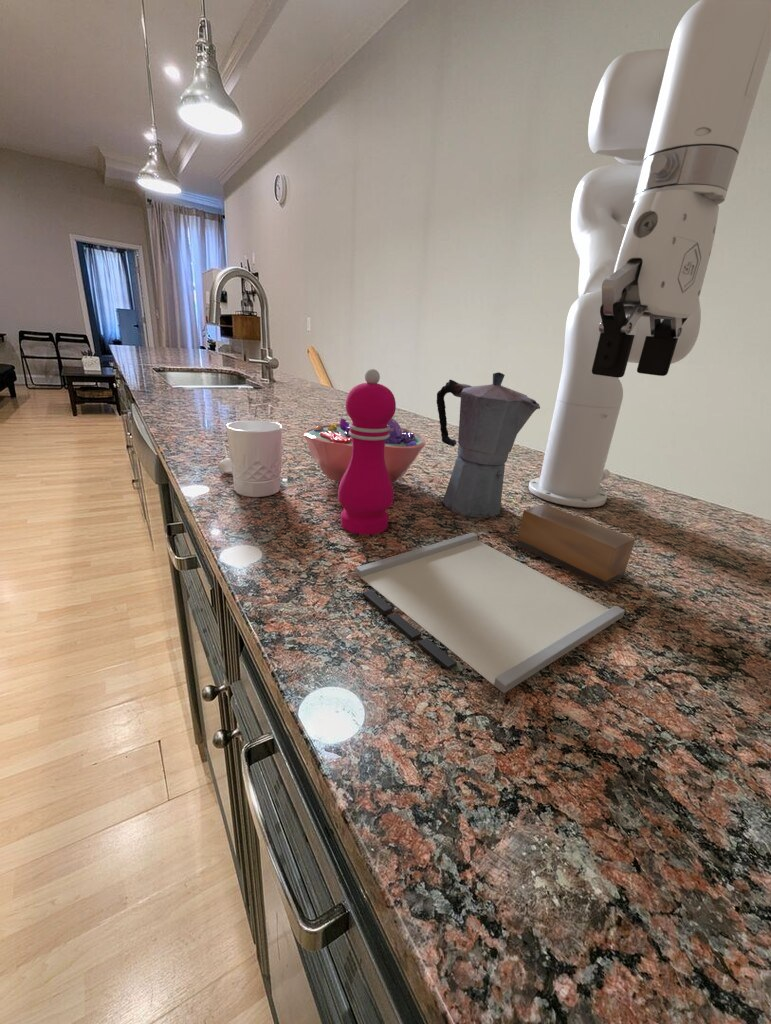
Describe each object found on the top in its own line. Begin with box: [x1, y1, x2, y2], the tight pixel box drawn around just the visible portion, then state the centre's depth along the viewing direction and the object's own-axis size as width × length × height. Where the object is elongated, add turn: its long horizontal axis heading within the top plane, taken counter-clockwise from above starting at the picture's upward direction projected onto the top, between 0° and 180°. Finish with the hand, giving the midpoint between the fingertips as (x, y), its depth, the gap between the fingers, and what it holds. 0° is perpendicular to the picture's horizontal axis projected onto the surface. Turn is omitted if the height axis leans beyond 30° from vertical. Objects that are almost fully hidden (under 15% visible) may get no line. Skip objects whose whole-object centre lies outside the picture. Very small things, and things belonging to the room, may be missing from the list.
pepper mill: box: [337, 368, 397, 535], centre depth 55 cm, size 7×7×20 cm
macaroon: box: [217, 457, 233, 475], centre depth 74 cm, size 4×5×2 cm
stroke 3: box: [417, 637, 458, 671], centre depth 36 cm, size 4×1×1 cm, turn 38°
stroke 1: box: [362, 589, 394, 615], centre depth 42 cm, size 4×1×1 cm, turn 37°
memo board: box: [355, 532, 626, 694], centre depth 45 cm, size 18×20×1 cm
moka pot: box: [436, 371, 541, 518], centre depth 64 cm, size 10×15×20 cm, turn 58°
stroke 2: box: [386, 612, 422, 642], centre depth 39 cm, size 4×1×1 cm, turn 37°
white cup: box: [225, 419, 283, 498], centre depth 67 cm, size 8×8×10 cm
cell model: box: [302, 417, 427, 483], centre depth 74 cm, size 17×20×11 cm
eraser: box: [516, 503, 636, 588], centre depth 53 cm, size 4×12×5 cm, turn 37°
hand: (630, 375), depth 48 cm, fingers open, 9 cm apart
